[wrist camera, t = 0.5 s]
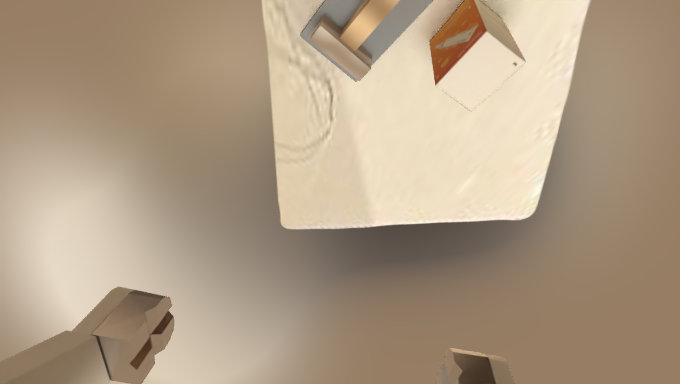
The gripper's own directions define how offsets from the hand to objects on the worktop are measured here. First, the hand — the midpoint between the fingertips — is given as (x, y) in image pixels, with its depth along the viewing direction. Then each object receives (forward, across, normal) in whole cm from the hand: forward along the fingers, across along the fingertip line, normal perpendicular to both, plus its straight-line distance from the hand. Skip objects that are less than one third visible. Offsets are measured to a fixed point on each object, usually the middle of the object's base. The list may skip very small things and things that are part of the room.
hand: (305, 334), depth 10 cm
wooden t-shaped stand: (+48, +1, -8) cm, 48 cm away
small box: (+49, -12, -7) cm, 51 cm away
